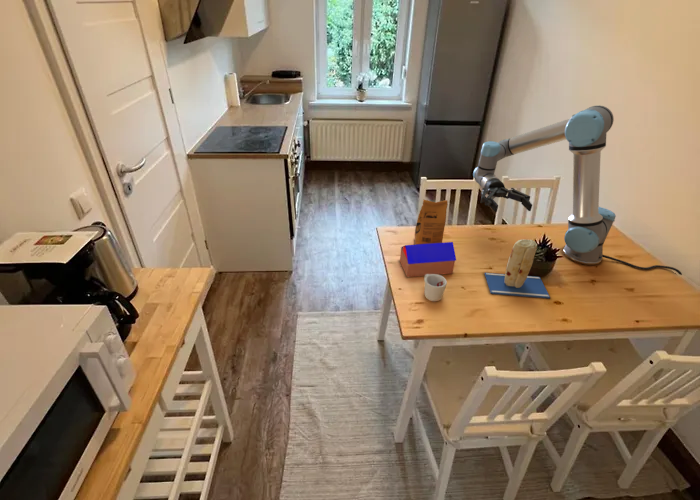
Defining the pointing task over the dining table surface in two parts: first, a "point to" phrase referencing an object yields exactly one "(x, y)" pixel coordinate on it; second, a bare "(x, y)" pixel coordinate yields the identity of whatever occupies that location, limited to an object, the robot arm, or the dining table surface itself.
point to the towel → (528, 289)
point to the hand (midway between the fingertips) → (513, 208)
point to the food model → (520, 262)
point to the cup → (434, 286)
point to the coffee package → (431, 222)
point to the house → (428, 259)
